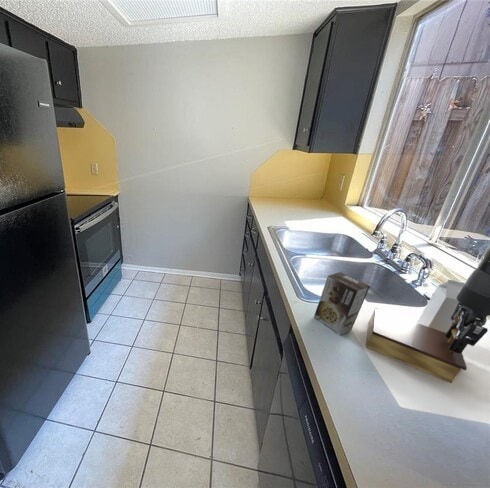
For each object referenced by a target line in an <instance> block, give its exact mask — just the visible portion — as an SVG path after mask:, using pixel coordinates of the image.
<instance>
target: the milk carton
mask: <svg viewBox="0 0 490 488" xmlns="http://www.w3.org/2000/svg"><path fill="white" fill-rule="evenodd" d="M465 283H466V282H465V281H464V282H463V281H458V280H455V279H450V278H448V279H447V281H446V282H444V283H441V284H438V285H436V288H435V289H434V292H433V293H432V295H431V297H430V299H429V300H428V302H427V304H426V305H425V308H424V309H423V311H422V313H421V314H420V316H419V318H418V320H417V321H416V323H418V324H421V325H424V326H427V327H430V328H433V329H436V330H439V331H442V332H444V333H447V331H448V330H449V328H450V327H451V322H452V321H453V320H451V316H452V315H453V313H454V311H455V309H456V307H457V305H458V303H459V302H458V300H457V296H458V294H459V292H460V291H461V289H462V287H463V286H464V284H465ZM466 328H467V327H466Z"/></svg>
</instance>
